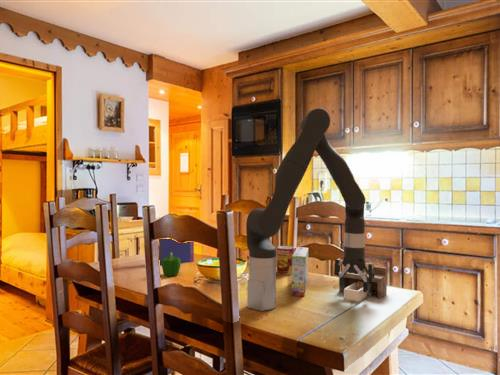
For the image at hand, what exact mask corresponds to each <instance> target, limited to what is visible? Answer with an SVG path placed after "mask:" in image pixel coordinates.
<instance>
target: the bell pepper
mask: <svg viewBox="0 0 500 375" xmlns="http://www.w3.org/2000/svg"><path fill="white" fill-rule="evenodd" d="M161 269H162V274H163V275H164V276H166V277H175V276H178V275H179V272H180V269H181V263H180V258H178V257H172V253H170V258H169V257H166V258H164V259H162V265H161Z"/></svg>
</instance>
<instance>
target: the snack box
mask: <svg viewBox="0 0 500 375" xmlns="http://www.w3.org/2000/svg"><path fill="white" fill-rule="evenodd" d="M308 272H309V247H303V246H302V247H301V246H300V247H299V246H296V248H295V249H294V254H293V256H292V274H291V287H290V290H291V291H290V295H291V296H294V297H298V296H299V297H305V294H306V291H307V286H308V282H309V277H308V275H309V273H308Z"/></svg>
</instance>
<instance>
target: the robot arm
mask: <svg viewBox="0 0 500 375" xmlns="http://www.w3.org/2000/svg"><path fill="white" fill-rule="evenodd" d="M330 125H331V117H330V114H329V112H328V111H327V110H326V109H324V108H322V107H321V108H320V107H319V108H318V107H317V108H313V109H311V110H309V111H308V113H307V114H306V115H305V116H304V117H303V119H302V120H301V123H300V130H301V131H300V134H299V135H298V137H297V139H296V140H295V142H294V143H293V144H292V146H290V148H289V149H288V151H287V152H286V154H285V155H284V157H283V159H282V160H281V162H280V164H279V166H278V167H277V170H276V172H275V176H274V190H273V195H272V197H271V199H270V201H269V203H268V204H267V206H266V207H265V208H254V209H252V210H251V211H250V212H249V213H248V215H247V217H246V225H245V229H246V246H247V250H248V253H249V254H248V256H249V257H248V258H249V261H248V262H249V267H248V279H247V308H249V309H251V310H252V309H253V310H257V311H260V312H264V311H269V310H270V311H271V310H273V309H275V308H276V307H277V247H275V246H274V245H273V243H272V242H271V239H270V238H272V237H274V236H276V235H277V234H278V233H279V231H280V230H281V227H282V226H283V222H284V221H285V218H286V214H287V211H288V209H289V206H290V204H291V202H292V199H293V198H294V196H295V193H296V192H297V190H298V188H299V186H300V184H301V182H302V180H303V178H304V176H305V173H306V172H307V170H308V168H309V165H310V164H311V161H312V159H313V156H314V153H315V152H316V154H317V155H318V156H319V158H320V159H321V160H322V162H323V164H324V165H325V167H326V169H327V171H328V172H329V174H330V176H331V178H332V180H333V182H334V184H335V185H336V187H337V188H338V190H339V193H340V195H341V197H342V198H343V201H344V204H345V205H344V207H345V210H344V211H345V219H344V233H343V234H344V235H343V258H342V259H341V258H336V259H334V270H333V271H334V272H333V275H334V276H337V277H338V282H339V283H338V285H339V286H340V287H341V288H344V287H345V277H344V276H345V274H346V273H347V272H349V273H354V274H359V275H360V276H361V277H362V279H363V280H364V282H363V292H367V291H368V290H369V281H372V280H374V266H375V264H374V262H370V263H367V262H366V235H365V232H366V227H365V226H366V225H365V204H366V197H365V195H364V193H363V191H362V189H361V188H360V186H359V184H358V183H357V181H356V180H355V177H354V173H352V171H351V169H350V167H349V165H348V163H347V162H346V160H345V158H343V156H342V155H341V154H340V153H338V151H336V149H334V147H333V146H332V144H331V143H330V142H329V140H328V138H327V136H326V132H327V131H328V129H329V128H330ZM342 265H343V267H344V268H343V269H342V270H341V266H342ZM365 266H366V267H367V269H368V272H369V277H368V276H367V274H366V272H365V270H364V268H365ZM341 271H342V272H341ZM340 272H341V273H340ZM339 286H338V287H339Z"/></svg>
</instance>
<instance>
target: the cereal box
mask: <svg viewBox="0 0 500 375" xmlns="http://www.w3.org/2000/svg"><path fill="white" fill-rule="evenodd" d="M159 218H160V217H158V219H159ZM194 243H195V241H194V242H187V243H178V242H176V241H174V240H172V239H159V238H158V261H159V260H160V264H159V265H160V266H162V259H164V258H166V257H169V258H170V253H172V257H178V258H180V264H184V263H194V261H195V259H194V258H195V257H194V256H195V255H194V254H195V248H194V247H195V244H194Z"/></svg>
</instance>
